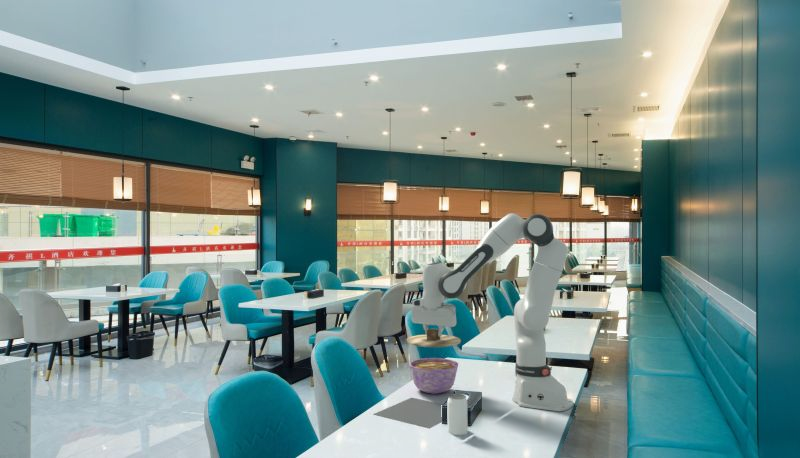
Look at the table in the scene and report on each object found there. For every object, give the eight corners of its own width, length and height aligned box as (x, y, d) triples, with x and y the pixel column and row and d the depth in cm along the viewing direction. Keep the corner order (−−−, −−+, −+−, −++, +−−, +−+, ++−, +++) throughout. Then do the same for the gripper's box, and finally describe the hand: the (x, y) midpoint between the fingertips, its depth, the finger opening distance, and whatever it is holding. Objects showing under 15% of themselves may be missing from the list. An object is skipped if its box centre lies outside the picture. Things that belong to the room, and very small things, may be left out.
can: (466, 437, 174) (466, 399, 174) (446, 436, 175) (446, 398, 175) (468, 430, 180) (468, 393, 180) (448, 429, 181) (448, 392, 181)
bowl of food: (399, 394, 221) (399, 365, 221) (426, 382, 237) (426, 355, 237) (442, 402, 209) (442, 372, 209) (467, 389, 226) (467, 361, 226)
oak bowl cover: (470, 340, 226) (470, 328, 226) (442, 349, 208) (442, 337, 208) (426, 334, 239) (426, 323, 239) (395, 342, 221) (395, 330, 221)
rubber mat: (465, 410, 200) (465, 408, 200) (429, 430, 180) (429, 428, 180) (411, 399, 214) (411, 397, 214) (372, 415, 195) (372, 414, 195)
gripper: (459, 303, 220) (459, 337, 220) (417, 299, 232) (417, 332, 232) (451, 304, 215) (451, 340, 215) (408, 301, 227) (409, 334, 227)
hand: (433, 335), depth 223 cm, fingers closed on oak bowl cover, 4 cm apart
